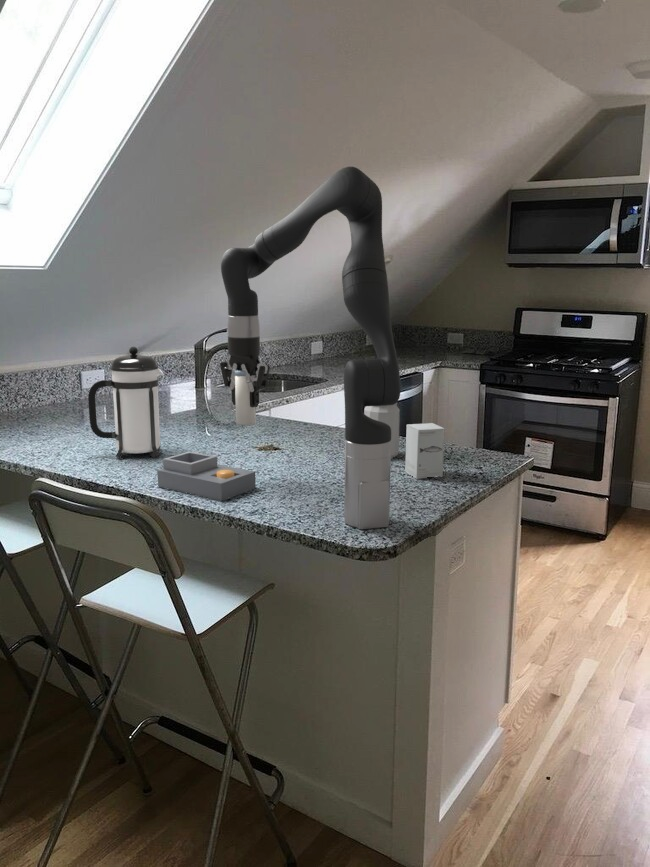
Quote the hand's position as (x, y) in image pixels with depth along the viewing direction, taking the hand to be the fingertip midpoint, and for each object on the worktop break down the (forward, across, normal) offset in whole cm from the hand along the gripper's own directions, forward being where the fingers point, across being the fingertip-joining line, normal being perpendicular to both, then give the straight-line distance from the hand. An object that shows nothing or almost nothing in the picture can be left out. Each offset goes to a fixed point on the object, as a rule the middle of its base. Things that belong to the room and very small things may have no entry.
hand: (245, 405), depth 178 cm
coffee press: (+19, +42, -1) cm, 46 cm away
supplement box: (+19, -34, -28) cm, 48 cm away
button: (+18, -3, +11) cm, 21 cm away
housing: (+18, +3, +11) cm, 22 cm away
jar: (+19, -16, -38) cm, 46 cm away
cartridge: (+4, 0, 0) cm, 4 cm away
